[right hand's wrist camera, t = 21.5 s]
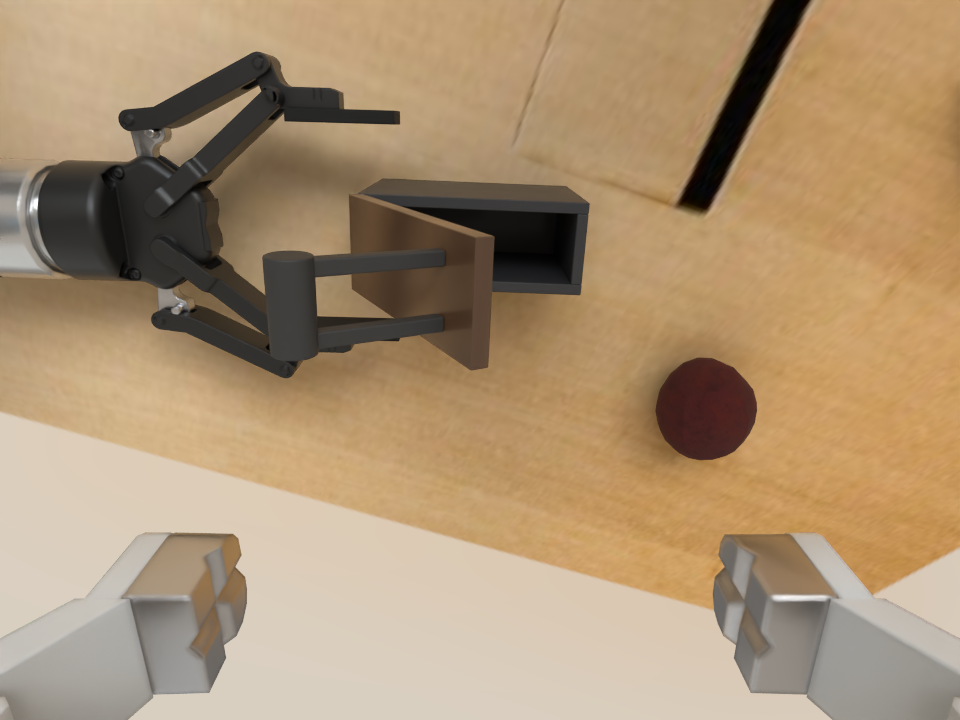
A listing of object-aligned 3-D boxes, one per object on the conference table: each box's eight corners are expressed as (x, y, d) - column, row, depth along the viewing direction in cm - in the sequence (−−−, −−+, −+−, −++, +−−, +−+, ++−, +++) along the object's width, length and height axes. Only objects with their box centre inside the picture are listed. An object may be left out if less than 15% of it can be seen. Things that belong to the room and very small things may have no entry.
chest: (566, 186, 46) (589, 203, 36) (560, 261, 48) (580, 295, 38) (382, 178, 46) (357, 193, 36) (383, 254, 47) (359, 286, 38)
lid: (495, 236, 24) (280, 248, 20) (488, 367, 26) (291, 402, 22) (363, 194, 36) (209, 196, 32) (365, 288, 38) (220, 301, 34)
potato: (649, 438, 53) (673, 483, 46) (642, 353, 50) (667, 388, 44) (737, 425, 52) (774, 469, 46) (735, 338, 50) (774, 371, 43)
